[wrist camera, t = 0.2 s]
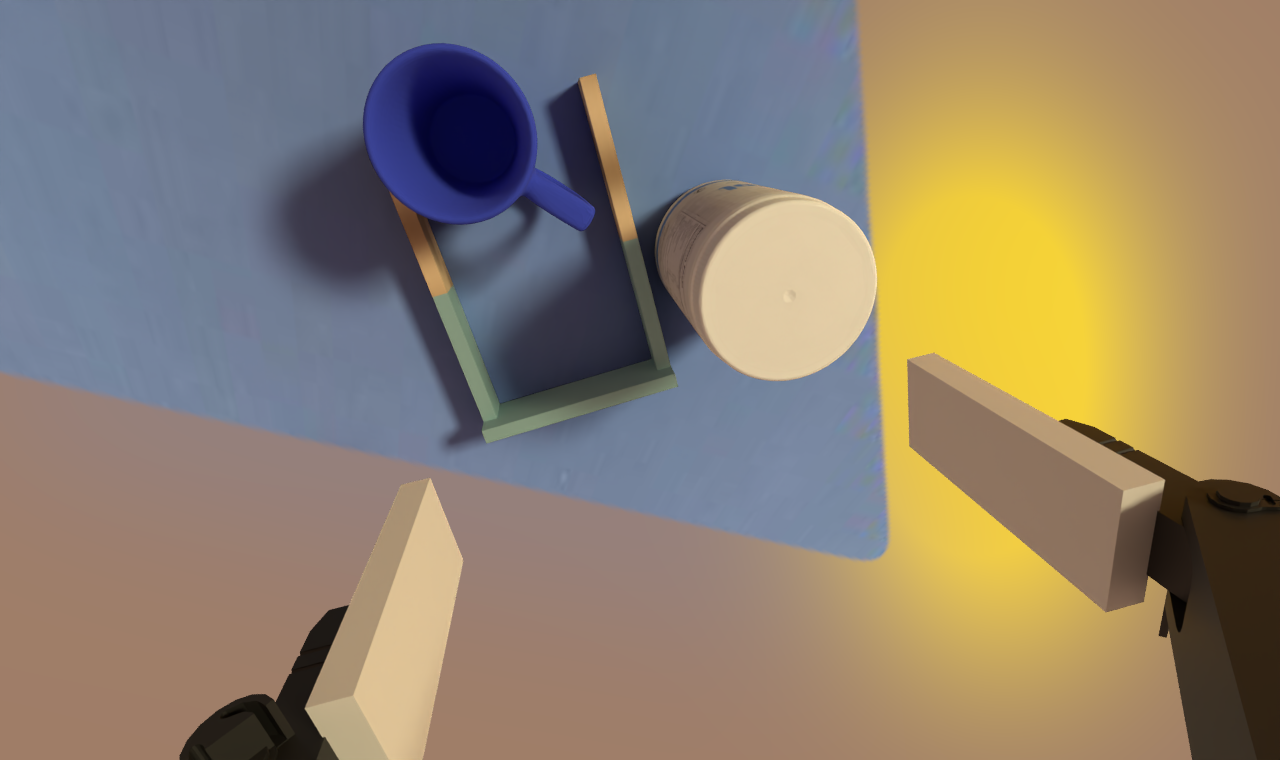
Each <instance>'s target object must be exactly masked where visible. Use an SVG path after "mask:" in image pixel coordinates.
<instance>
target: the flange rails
mask: <svg viewBox="0 0 1280 760" xmlns="http://www.w3.org/2000/svg"><path fill="white" fill-rule="evenodd" d="M578 85H579V89H580V93H581V96H582V100H583V104H584V107H585V111H586V115H587V119H588V122H589V126H590V130H591V133H592V137H593V141H594V145H595V148H596V152H597V156H598V160H599V163H600V167H601V171H602V174H603V178H604V182H605V186H606V189H607V193H608V197H609V200H610V204H611V208H612V212H613V215H614V219H615V223H616V226H617V230H618V234H619V237H620V238H621V240H622V241H623V242H625V241H629V240H632V239H636V238H638V237H637V233H636V229H635V225H634V221H633V217H632V213H631V209H630V206H629V202H628V198H627V194H626V190H625V186H624V182H623V178H622V174H621V170H620V167H619V163H618V159H617V155H616V151H615V147H614V143H613V139H612V135H611V131H610V128H609V124H608V120H607V116H606V112H605V108H604V104H603V100H602V96H601V93H600V89H599V85H598V81H597V77H596V74H592V75H589V76H585V77H582V78H579V80H578ZM389 192H390V191H389ZM390 195H391V197H392V199H393V202H394V204H395V207H396V209H397V212H398V214H399V217H400V219H401V221H402V224H403V226H404V229H405V231H406V234H407V236H408V238H409V241H410V243H411V246H412V248H413V251H414V253H415V256H416V258H417V260H418V263H419V265H420V268H421V270H422V273H423V275H424V277H425V280H426V282H427V285H428V287H429V290H430V292H431V295H432V297H435V296H438V295H442V294H445V293H448V291H449V290H450V288H451V287H452V285H453V283H452V281H451V278H450V275H449V273H448V270H447V268H446V265H445V263H444V260H443V258H442V255H441V253H440V250H439V247H438V245H437V242H436V240H435V237H434V235H433V232H432V230H431V227H430V224H429V222H428V219H427V218H426V217H424V216H422V215H419V214H417V213H416V212H414V211H412V210H411V209H409V208H408V207H406V206H405V205H404V204H402V203H401V202H400V201H399V200H398V199H397V198H395V197H394V196H393V194H392V193H391V192H390Z"/></svg>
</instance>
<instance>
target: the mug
mask: <svg viewBox="0 0 1280 760" xmlns="http://www.w3.org/2000/svg"><path fill="white" fill-rule="evenodd" d="M363 133H364V140H365V145H366V149H367V153H368V156H369V158H370V161H371V163H372V165H373V168H374V170H375V172H376V173H377V175H378V177H379V178H380V180H381V181H382V183H383V184H384V185H385V187H386V188H387V189H388V190H389V191H390V192H391V193H392V194H393V196H394V197H395V198H397V199H398V200H399V201H400V202H401V203H402V204H404V205H405V206H406V207H408V208H409V209H411V210H412V211H414V212H416V213H417V214H419V215H422V216H424V217H426V218H429V219H431V220H434V221H438V222H442V223H447V224H458V225H463V224H473V223H478V222H482V221H485V220H488V219H491V218H493V217H495V216H497V215H499V214H500V213H502V212H503V211H505V210H506V209H508V208H509V207H510V206H511V205H512V204H513V203H514V202H515V201H516V200H517V199H518V198H519V197H521V196H524V197H526V198H528V199H529V200H531V201H532V202H533V203H535V204H536V205H538V206H539V207H541V208H542V209H544V210H545V211H547V212H548V213H550V214H551V215H553V216H555V217H556V218H558V219H560V220H561V221H563V222H565V223H566V224H568V225H570V226H571V227H573V228H575V229H577V230H579V231H584V230H585V229H587V227H588V226H589V225H590V223H591V221H592V219H593V217H594V215H595V208H594V207H593V206H592V205H591V204H590V203H589V202H588V201H586V200H585V199H584V198H583V197H581V196H580V195H579V194H577V193H576V192H574V191H573V190H571V189H570V188H568V187H567V186H565V185H564V184H562V183H561V182H559V181H557V180H556V179H554V178H553V177H551V176H549V175H547V174H546V173H544V172H542V171H540V170H538V169H536V168H535V162H536V156H537V132H536V126H535V121H534V117H533V114H532V111H531V109H530V106H529V104H528V102H527V100H526V98H525V96H524V94H523V92H522V91H521V89H520V88H519V86H518V85H517V83H516V82H515V81H514V80H513V79H512V77H511V76H510V75H509V74H508V73H507V72H506V71H505V70H504V69H503V68H502V67H500V66H499V65H498V64H497V63H495V62H494V61H493V60H491V59H490V58H488V57H486V56H485V55H483V54H481V53H479V52H477V51H475V50H472V49H469V48H467V47H463V46H459V45H454V44H445V43H437V44H427V45H422V46H418V47H415V48H412V49H409V50H407V51H405V52H403V53H402V54H400V55H398V56H397V57H395V58H394V59H393V60H392V61H390V62H389V63H388V64H387V65H386V66H385V67H384V68H383V69H382V71H381V72H380V73H379V74H378V76H377V77H376V79H375V80H374V82H373V84H372V86H371V88H370V91H369V93H368V96H367V99H366V103H365V107H364V115H363Z"/></svg>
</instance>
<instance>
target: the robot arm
mask: <svg viewBox="0 0 1280 760" xmlns="http://www.w3.org/2000/svg"><path fill="white" fill-rule="evenodd" d="M907 363H908V364H907V366H908V407H909V446H910V447H911V448H912V449H913V450H915V451H916V452H917V453H918V454H919V455H920V456H922V457H923V458H924V459H925V460H926V461H928V462H929V463H930V464H931V465H932V466H934V467H935V468H936V469H937V470H938V471H940V472H941V473H942V474H943V475H944V476H945V477H947V478H948V479H949V480H950V481H951V482H952V483H954V484H955V485H956V486H957V487H958V488H960V489H961V490H962V491H963V492H964V493H965V494H967V495H968V496H969V497H970V498H971V499H973V500H974V501H975V502H976V503H977V504H979V505H980V506H981V507H982V508H983V509H984V510H986V511H987V512H988V513H989V514H990V515H992V516H993V517H994V518H995V519H996V520H997V521H999V522H1000V523H1001V524H1002V525H1003V526H1004V527H1006V528H1007V529H1008V530H1009V531H1010V532H1012V533H1013V534H1014V535H1015V536H1016V537H1017V538H1019V539H1020V540H1021V541H1022V542H1023V543H1025V544H1026V545H1027V546H1028V547H1029V548H1031V549H1032V550H1033V551H1034V552H1035V553H1036V554H1038V555H1039V556H1040V557H1041V558H1042V559H1044V560H1045V561H1046V562H1047V563H1048V564H1049V565H1051V566H1052V567H1053V568H1054V569H1055V570H1057V571H1058V572H1059V573H1060V574H1061V575H1062V576H1064V577H1065V578H1066V579H1067V580H1068V581H1070V582H1071V583H1072V584H1073V585H1074V586H1076V587H1077V588H1078V589H1079V590H1080V591H1081V592H1083V593H1084V594H1085V595H1086V596H1087V597H1088V598H1090V599H1091V600H1092V601H1093V602H1094V603H1096V604H1097V605H1098V606H1099V607H1100V608H1102V609H1103V610H1104V611H1105V612H1109V611H1112V610H1116V609H1120V608H1123V607H1127V606H1130V605H1134V604H1138V603H1141V602H1144V597H1145V591H1146V586H1147V580H1148V576H1150V577H1151V578H1152V579H1154V580H1155V581H1157V582H1158V583H1159V584H1160V585H1162V586H1163V587H1164V588H1166V589H1167V595H1166V600H1165V606H1164V611H1163V616H1162V621H1161V626H1160V631H1159V636H1162V637H1167V634H1168V630H1169V632H1170V638H1171V644H1172V649H1173V655H1174V660H1175V666H1176V672H1177V677H1178V683H1179V688H1180V694H1181V699H1182V705H1183V710H1184V716H1185V722H1186V727H1187V732H1188V738H1189V743H1190V750H1191V755H1192V760H1280V497H1279V496H1277V495H1276V494H1274V493H1272V492H1270V491H1269V490H1266V489H1263V488H1260V487H1257V486H1254V485H1252V484H1248V483H1243V482H1237V481H1232V480H1214V479H1210V480H1204V481H1199V482H1198V481H1196V480H1194V479H1192V478H1190V477H1189V476H1187V475H1185V474H1183V473H1181V472H1179V471H1177V470H1175V469H1173V468H1171V467H1169V466H1168V465H1166V464H1164V463H1162V462H1160V461H1158V460H1156V459H1154V458H1152V457H1150V456H1148V455H1147V454H1145V453H1143V452H1141V451H1139V450H1136V451H1135V450H1134V449H1133V447H1131V446H1129V445H1127V444H1126V443H1124V442H1122V441H1116V439H1115V438H1114V437H1112V436H1110V435H1108V434H1106V433H1104V432H1103V431H1101V430H1099V429H1097V428H1095V427H1092V426H1089V425H1085V424H1082V423H1079V422H1075V421H1072V420H1068V419H1064V420H1060V421H1057V420H1055V419H1053V418H1052V417H1049V416H1048V415H1046V414H1044V413H1042V412H1041V411H1039V410H1037V409H1035V408H1033V407H1032V406H1030V405H1028V404H1026V403H1024V402H1022V401H1021V400H1019V399H1017V398H1015V397H1013V396H1012V395H1010V394H1008V393H1006V392H1004V391H1002V390H1001V389H999V388H997V387H995V386H993V385H991V384H990V383H988V382H986V381H984V380H982V379H981V378H979V377H977V376H975V375H973V374H971V373H970V372H968V371H966V370H964V369H962V368H960V367H959V366H957V365H955V364H953V363H951V362H950V361H948V360H946V359H944V358H942V357H940V356H939V355H937V354H935V353H931V354H927V355H923V356H919V357H915V358H912V359H908V360H907ZM462 564H463V559H462V556H461V554H460V551H459V549H458V547H457V544H456V541H455V539H454V536H453V534H452V531H451V529H450V526H449V524H448V521H447V519H446V516H445V514H444V511H443V509H442V506H441V504H440V501H439V499H438V496H437V494H436V491H435V489H434V486H433V484H432V481H431V479H430V478H427V479H423V480H419V481H415V482H411V483H407V484H402V485H401V486H400V488H399V491H398V493H397V495H396V498H395V500H394V502H393V504H392V507H391V509H390V512H389V514H388V516H387V518H386V521H385V523H384V525H383V528H382V530H381V532H380V535H379V537H378V539H377V542H376V544H375V547H374V549H373V551H372V553H371V556H370V558H369V560H368V563H367V565H366V568H365V570H364V572H363V574H362V577H361V579H360V581H359V583H358V586H357V588H356V590H355V593H354V595H353V597H352V600H351V602H350V604H349V605H348V606H344V607H340V608H336V609H332V610H329V611H328V612H327V613H326V614H325V615H324V616H323V617H322V619H321V620H320V621H319V622H318V623H317V624H316V625H315V626H314V627H313V629H312V630H311V631H310V633H309V635H308V637H307V639H306V641H305V643H304V645H303V647H302V649H301V651H300V656H298V657H297V660H296V661H295V663H294V666H293V668H292V674H289V676H288V678H287V680H286V682H285V684H284V686H283V688H282V690H281V692H280V694H279V696H278V699H277V700H276V702H275V701H274V700H273V699H272V698H270V697H269V696H267V695H266V694H256V695H255V694H254V695H249V696H246V697H243V698H240V699H237V700H235V701H233V702H231V703H230V704H229V705H226V706H224V707H223V708H221V709H219V710H218V711H216V712H215V713H214V714H213V715H212V716H210V717H209V718H208V719H207V720H205V721H204V722H203V723H202V724H201V725H200V726H199V727H198V728H197V729H196V731H195V732H194V733H193V734H192V735H191V737H190V738H189V739H188V740H187V742H186V744H185V746H184V748H183V750H182V752H181V754H180V760H423V755H424V750H425V745H426V740H427V735H428V730H429V726H430V721H431V716H432V711H433V706H434V701H435V697H436V691H437V687H438V682H439V677H440V672H441V666H442V662H443V657H444V652H445V647H446V643H447V638H448V633H449V628H450V623H451V618H452V613H453V608H454V603H455V598H456V593H457V589H458V584H459V579H460V574H461V569H462Z"/></svg>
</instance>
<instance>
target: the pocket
mask: <svg viewBox="0 0 1280 760" xmlns="http://www.w3.org/2000/svg"><path fill="white" fill-rule="evenodd" d="M619 238H620V237H619ZM620 241H621V245H622V249H623V253H624V256H625V260H626V264H627V267H628V271H629V275H630V279H631V282H632V286H633V290H634V293H635V297H636V301H637V305H638V308H639V312H640V316H641V319H642V323H643V327H644V331H645V334H646V338H647V342H648V346H649V349H650V353H651V357H652V359H650V360H646V361H643V362H640V363H636V364H633V365H630V366H626V367H623V368H619V369H616V370H613V371H609V372H606V373H603V374H599V375H596V376H592V377H589V378H586V379H582V380H579V381H576V382H572V383H569V384H565V385H562V386H559V387H555V388H552V389H548V390H545V391H542V392H538V393H535V394H532V395H528V396H525V397H521V398H518V399H515V400H511V401H508V402H505V403H501V404H500V403H499V400H498V398H497V395H496V393H495V390H494V388H493V385H492V382H491V380H490V377H489V375H488V372H487V370H486V367H485V365H484V362H483V360H482V357H481V354H480V352H479V349H478V347H477V344H476V342H475V339H474V337H473V334H472V332H471V329H470V326H469V324H468V321H467V319H466V316H465V314H464V311H463V309H462V306H461V303H460V301H459V298H458V296H457V293H456V291H455V288H454V286H453V285H452V287H451V288H450V290H449V291H448V293H445V294H442V295H438V296H435V297H433V299H434V302H435V304H436V307H437V309H438V312H439V314H440V316H441V319H442V321H443V324H444V326H445V329H446V331H447V334H448V336H449V338H450V341H451V343H452V346H453V348H454V351H455V353H456V355H457V358H458V360H459V363H460V365H461V368H462V370H463V373H464V375H465V377H466V380H467V382H468V385H469V387H470V390H471V392H472V394H473V397H474V399H475V402H476V404H477V407H478V409H479V412H480V414H481V416H482V419H483V421H484V423H483V427H482V433H483V436H484V438H485V441H486V443H490V442H493V441H497V440H500V439H503V438H507V437H510V436H513V435H517V434H520V433H523V432H527V431H530V430H534V429H537V428H540V427H544V426H547V425H550V424H554V423H557V422H560V421H564V420H567V419H570V418H574V417H577V416H580V415H584V414H587V413H591V412H594V411H597V410H601V409H604V408H607V407H611V406H614V405H617V404H621V403H624V402H627V401H631V400H634V399H638V398H641V397H644V396H648V395H651V394H654V393H658V392H661V391H664V390H668V389H671V388H674V387H678V384H677V380H676V377H675V373H674V371H673V370H672V368H671V365H670V361H669V357H668V354H667V350H666V346H665V342H664V338H663V334H662V330H661V326H660V322H659V319H658V315H657V311H656V307H655V303H654V299H653V295H652V291H651V287H650V283H649V280H648V276H647V272H646V268H645V264H644V260H643V256H642V252H641V248H640V244H639V241H638V238H636V239H632V240H629V241H625V242H623V241H622V240H621V238H620Z"/></svg>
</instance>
